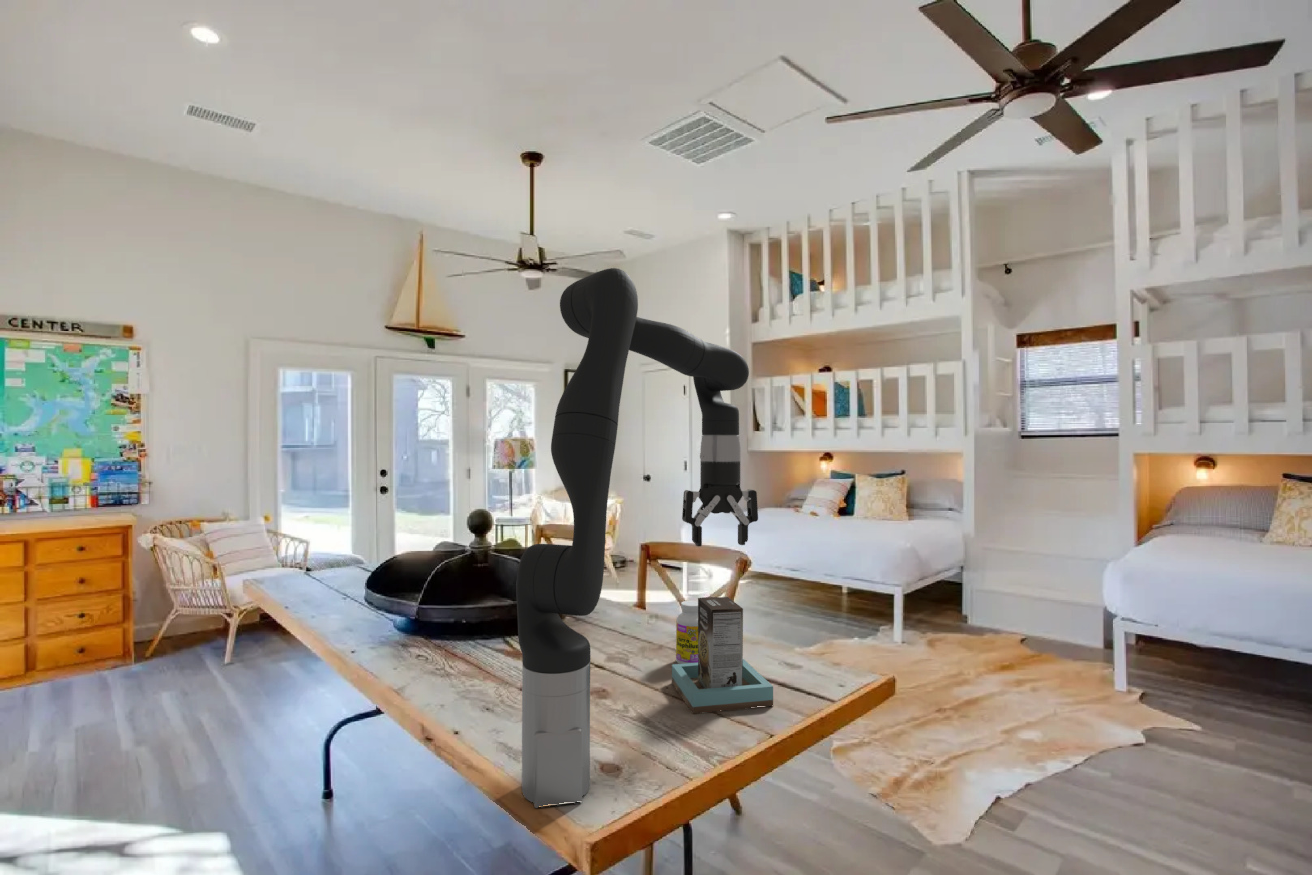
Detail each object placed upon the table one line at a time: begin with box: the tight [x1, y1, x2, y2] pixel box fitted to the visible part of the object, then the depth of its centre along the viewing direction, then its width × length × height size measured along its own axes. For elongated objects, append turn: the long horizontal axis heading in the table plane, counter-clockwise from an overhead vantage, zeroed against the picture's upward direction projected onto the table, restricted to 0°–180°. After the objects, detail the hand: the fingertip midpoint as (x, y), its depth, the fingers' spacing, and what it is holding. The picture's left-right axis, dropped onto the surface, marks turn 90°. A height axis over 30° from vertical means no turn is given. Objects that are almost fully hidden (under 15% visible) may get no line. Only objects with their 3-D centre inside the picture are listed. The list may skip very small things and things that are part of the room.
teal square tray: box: [671, 658, 774, 715], centre depth 122 cm, size 15×15×4 cm
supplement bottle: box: [675, 600, 698, 664], centre depth 140 cm, size 7×7×13 cm
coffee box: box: [697, 596, 744, 689], centre depth 122 cm, size 9×6×16 cm
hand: (720, 545), depth 123 cm, fingers open, 8 cm apart
